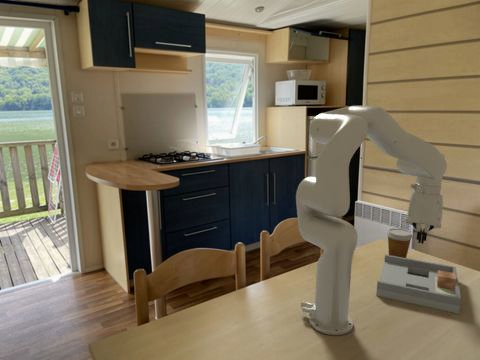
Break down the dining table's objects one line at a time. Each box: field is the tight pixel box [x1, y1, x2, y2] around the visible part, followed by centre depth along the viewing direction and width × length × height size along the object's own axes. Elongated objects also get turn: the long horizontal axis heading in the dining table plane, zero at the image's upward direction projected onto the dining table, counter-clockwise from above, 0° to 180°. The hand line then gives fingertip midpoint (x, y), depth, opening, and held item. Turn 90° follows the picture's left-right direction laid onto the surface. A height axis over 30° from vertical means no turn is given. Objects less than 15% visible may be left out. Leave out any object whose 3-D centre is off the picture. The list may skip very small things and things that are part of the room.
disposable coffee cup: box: [386, 227, 413, 258], centre depth 151 cm, size 10×10×12 cm
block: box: [437, 270, 456, 290], centre depth 125 cm, size 5×5×4 cm
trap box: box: [375, 254, 462, 315], centre depth 128 cm, size 24×25×5 cm
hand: (420, 242), depth 125 cm, fingers closed
